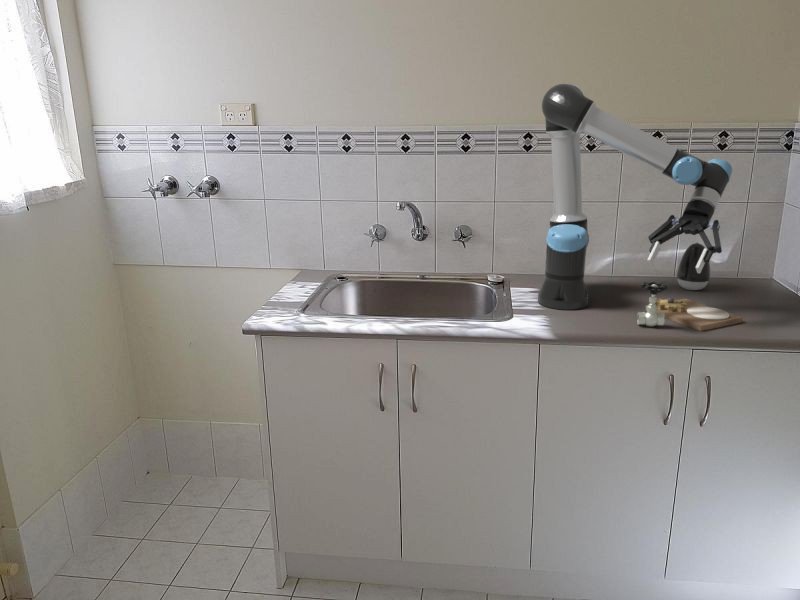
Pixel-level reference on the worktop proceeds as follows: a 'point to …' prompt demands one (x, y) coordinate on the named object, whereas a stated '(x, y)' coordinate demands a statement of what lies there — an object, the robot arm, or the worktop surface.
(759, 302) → the worktop surface
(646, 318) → the valve
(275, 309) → the worktop surface
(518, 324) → the worktop surface
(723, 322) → the board
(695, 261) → the black egg-shaped capsule
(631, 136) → the robot arm
